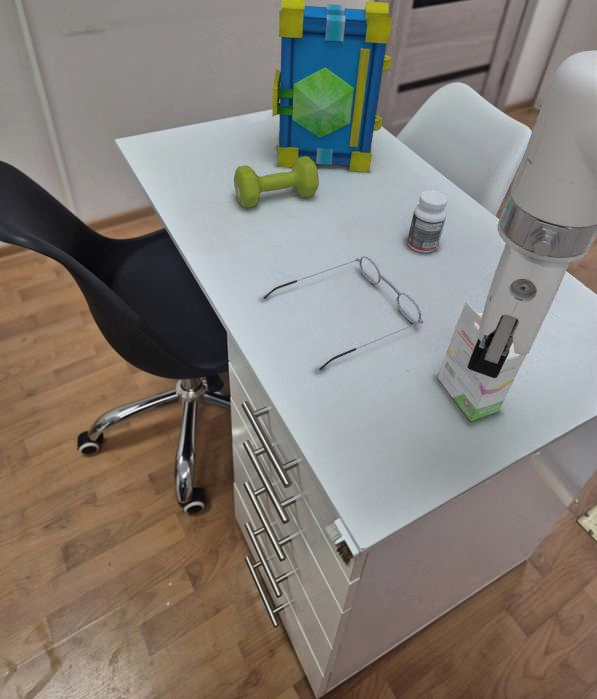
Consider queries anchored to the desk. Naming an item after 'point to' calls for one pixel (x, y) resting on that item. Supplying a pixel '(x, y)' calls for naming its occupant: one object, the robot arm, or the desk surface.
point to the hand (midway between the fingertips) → (482, 368)
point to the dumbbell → (276, 181)
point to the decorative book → (330, 82)
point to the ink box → (469, 386)
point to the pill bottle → (428, 222)
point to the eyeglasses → (373, 283)
